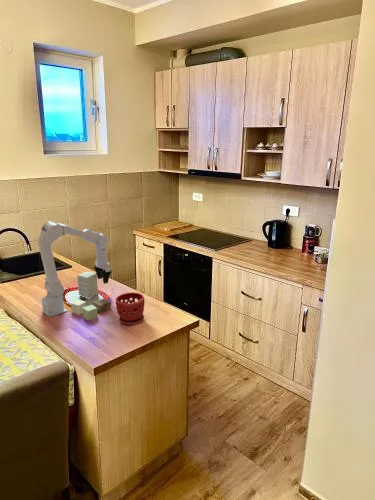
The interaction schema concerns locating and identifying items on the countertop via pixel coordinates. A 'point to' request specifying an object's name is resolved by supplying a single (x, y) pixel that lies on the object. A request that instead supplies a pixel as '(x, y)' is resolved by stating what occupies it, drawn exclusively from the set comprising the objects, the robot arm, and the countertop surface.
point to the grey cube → (78, 306)
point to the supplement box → (87, 284)
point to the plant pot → (130, 308)
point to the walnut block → (102, 305)
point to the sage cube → (90, 312)
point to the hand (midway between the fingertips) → (102, 280)
